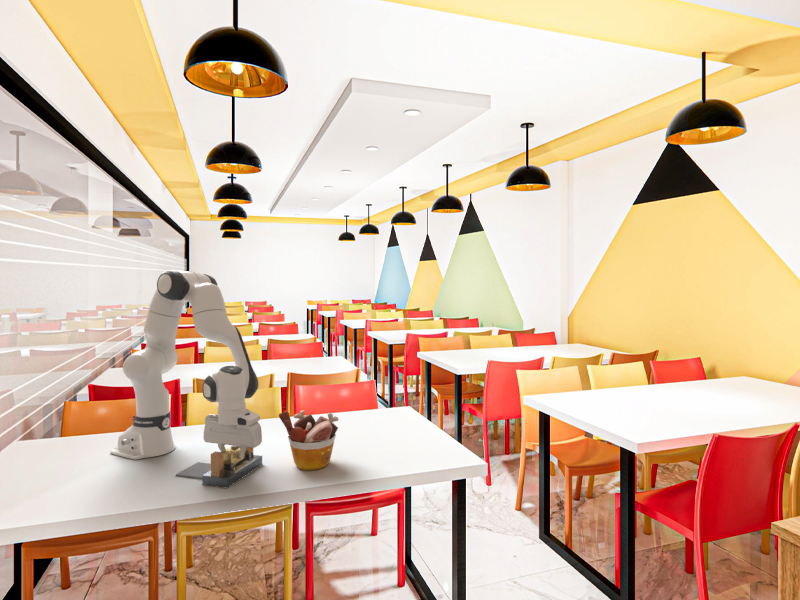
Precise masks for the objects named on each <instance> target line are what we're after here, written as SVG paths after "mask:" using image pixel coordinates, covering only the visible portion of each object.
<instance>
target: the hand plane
mask: <svg viewBox="0 0 800 600" xmlns="http://www.w3.org/2000/svg"><path fill="white" fill-rule="evenodd" d="M210 464H211V471H209V472H207V473H205V474H204V475H202V479H201V481H202V483H201V485H202V486H208V487H209V486H210V487H215V486H218V487H217V488H223V487H226V488H225V489H228V488H230V487H231V486H232V484H233V483H234V484H236V483H237V482H238V481H240V480H241V479H243V478H244V477H246V476H247V475H249V474H250V473H252V472H253V471H255V470H257V467H258V468H260V467H261V466H262V465H263V455H258V454H254V448H252V447H247V448H246V450H245V459H243V460H241V461H240V462H238V463H236V464H235V465H234V463H228V462H224V452H221V451H213V452H211V453H210ZM260 465H261V466H260ZM254 469H255V470H254ZM251 471H252V472H251ZM248 473H249V474H248ZM245 475H246V476H245ZM242 477H243V478H242ZM239 479H240V480H239ZM236 481H237V482H236ZM234 484H233V485H234ZM230 485H231V486H230ZM229 486H230V487H229ZM227 487H228V488H227Z"/></svg>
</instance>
